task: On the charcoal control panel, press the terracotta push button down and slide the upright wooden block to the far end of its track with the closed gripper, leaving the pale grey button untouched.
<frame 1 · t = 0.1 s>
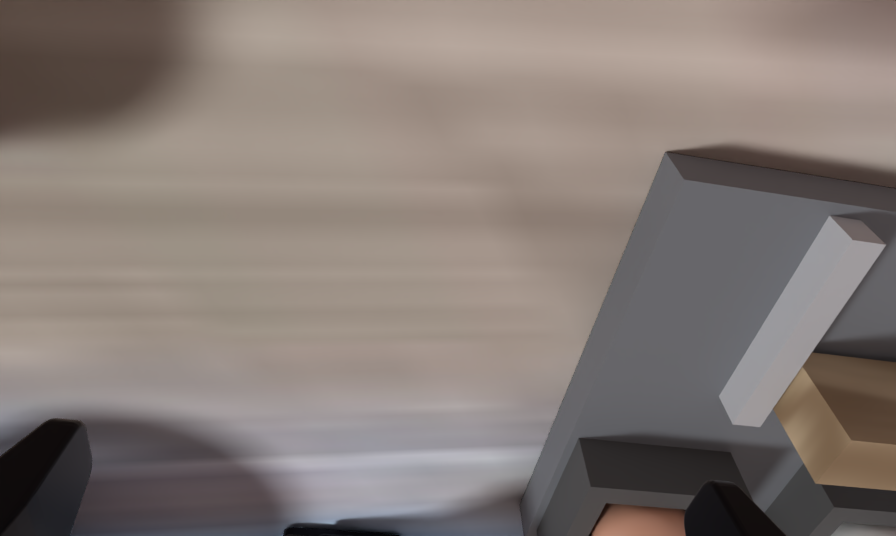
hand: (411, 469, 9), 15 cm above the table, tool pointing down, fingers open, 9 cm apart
control panel: (784, 388, 30), on the table
upright wooden block: (862, 420, 25), point 5 cm above the table, slide at 0.0 cm
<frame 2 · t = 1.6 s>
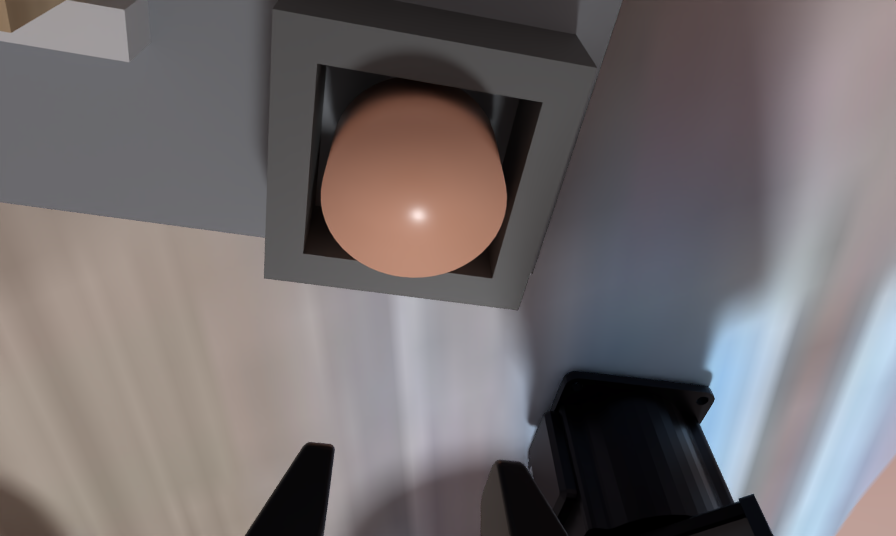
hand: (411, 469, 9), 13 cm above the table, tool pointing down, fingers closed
button terracotta: (414, 178, 17), point 4 cm above the table, slide at 0.0 cm
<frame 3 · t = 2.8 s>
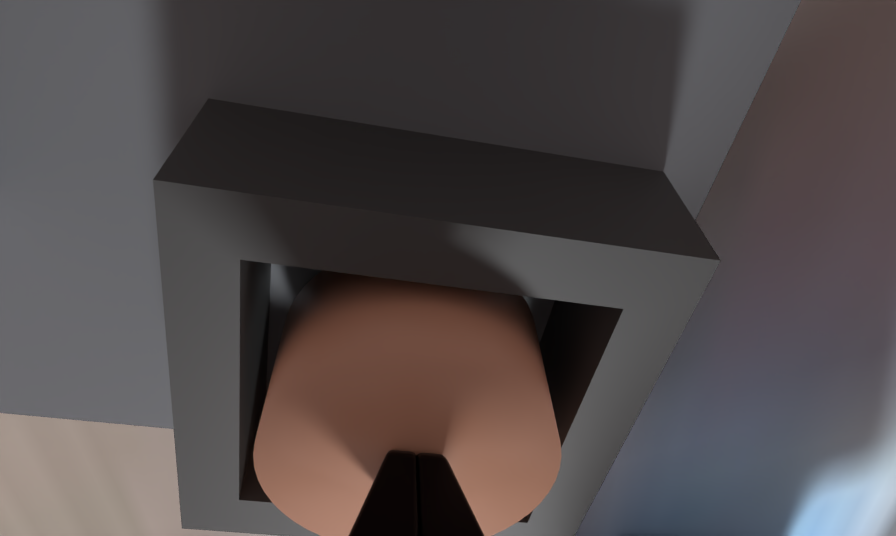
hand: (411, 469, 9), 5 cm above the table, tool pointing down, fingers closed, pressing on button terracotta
button terracotta: (410, 402, 10), point 4 cm above the table, slide at 0.0 cm, touching gripper
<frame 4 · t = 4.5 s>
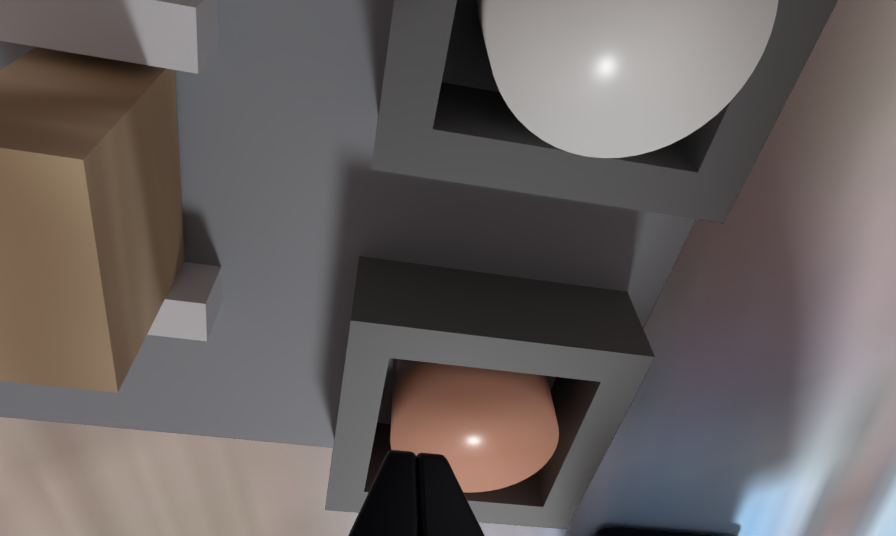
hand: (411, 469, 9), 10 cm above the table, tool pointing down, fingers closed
control panel: (280, 120, 16), on the table
button terracotta: (471, 405, 18), point 3 cm above the table, slide at 1.0 cm
button grey: (611, 5, 11), point 4 cm above the table, slide at 0.0 cm
upright wooden block: (82, 213, 13), point 4 cm above the table, slide at 0.0 cm
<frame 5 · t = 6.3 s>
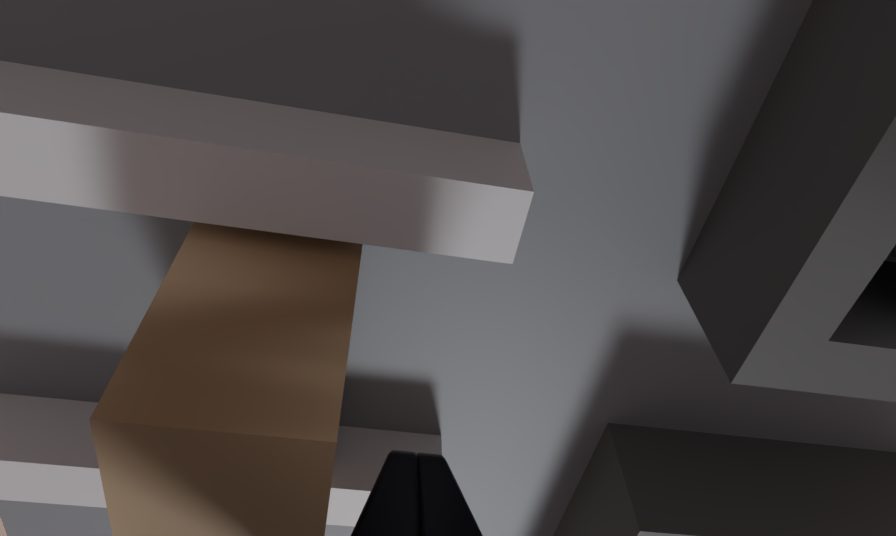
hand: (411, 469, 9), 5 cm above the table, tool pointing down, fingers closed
control panel: (513, 261, 14), on the table
upright wooden block: (257, 424, 10), point 4 cm above the table, slide at 1.4 cm, touching gripper
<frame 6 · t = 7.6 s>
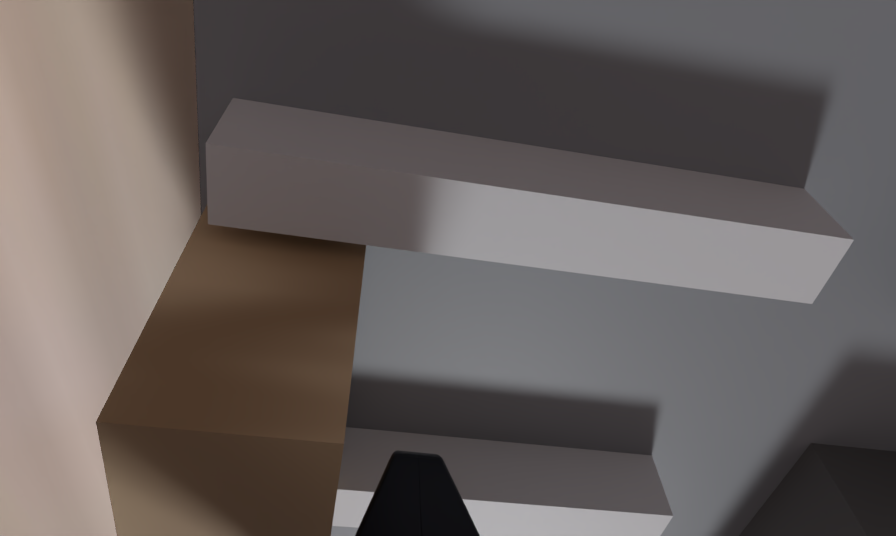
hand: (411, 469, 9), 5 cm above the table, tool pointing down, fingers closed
control panel: (722, 289, 14), on the table
upright wooden block: (260, 426, 10), point 4 cm above the table, slide at 6.1 cm, touching gripper
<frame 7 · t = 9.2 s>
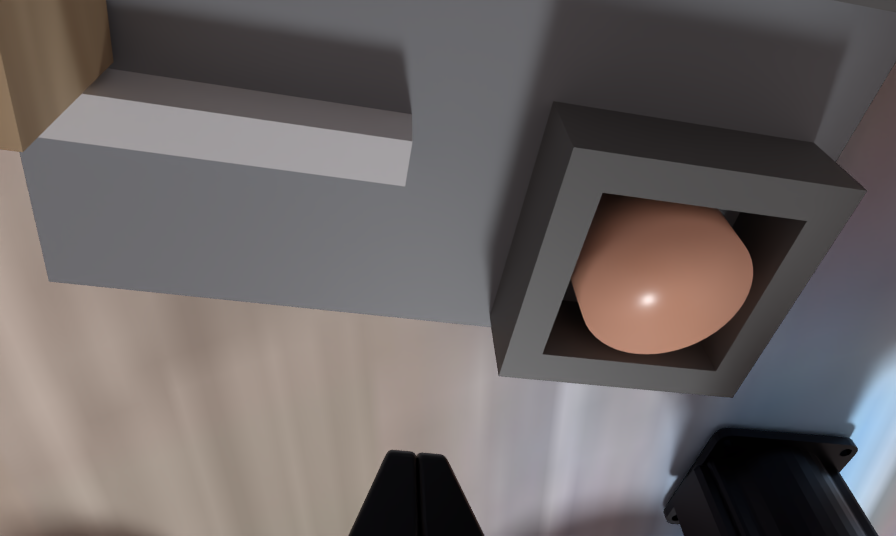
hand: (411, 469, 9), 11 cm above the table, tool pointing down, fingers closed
button terracotta: (651, 263, 18), point 3 cm above the table, slide at 1.0 cm
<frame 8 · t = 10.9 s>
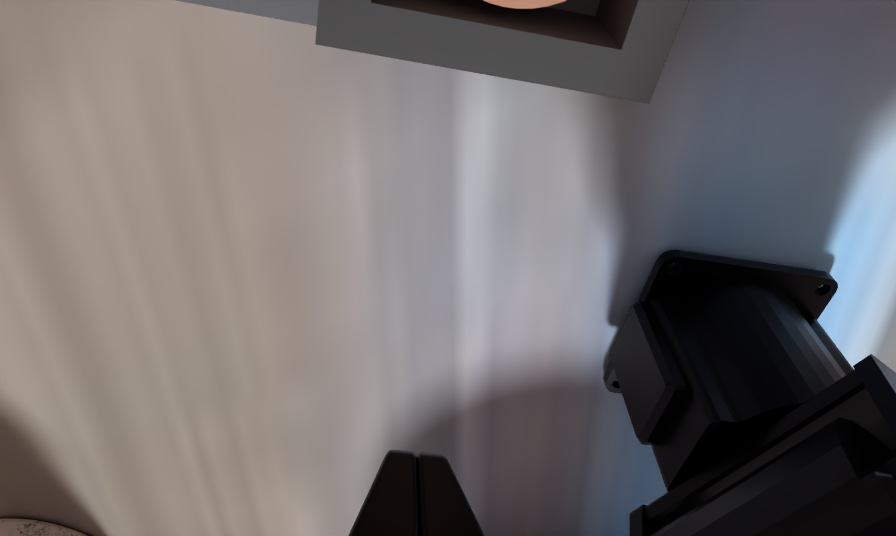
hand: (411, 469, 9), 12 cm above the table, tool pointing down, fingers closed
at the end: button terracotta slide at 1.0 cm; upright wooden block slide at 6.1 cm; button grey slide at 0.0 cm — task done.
